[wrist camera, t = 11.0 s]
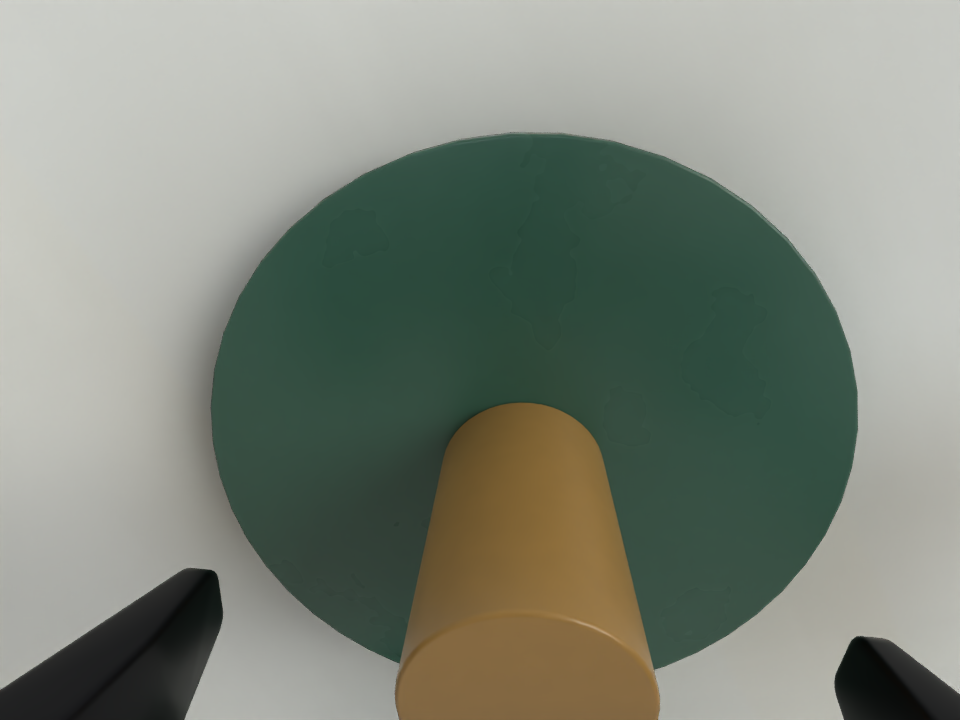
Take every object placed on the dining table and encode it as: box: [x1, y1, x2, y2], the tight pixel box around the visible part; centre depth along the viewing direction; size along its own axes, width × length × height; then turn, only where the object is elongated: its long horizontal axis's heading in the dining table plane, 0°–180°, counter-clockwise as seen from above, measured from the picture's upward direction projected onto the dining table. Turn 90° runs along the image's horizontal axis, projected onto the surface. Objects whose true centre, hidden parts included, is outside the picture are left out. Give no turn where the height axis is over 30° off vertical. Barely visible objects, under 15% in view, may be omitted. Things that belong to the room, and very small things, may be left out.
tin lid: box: [211, 132, 858, 720], centre depth 10 cm, size 13×13×6 cm
